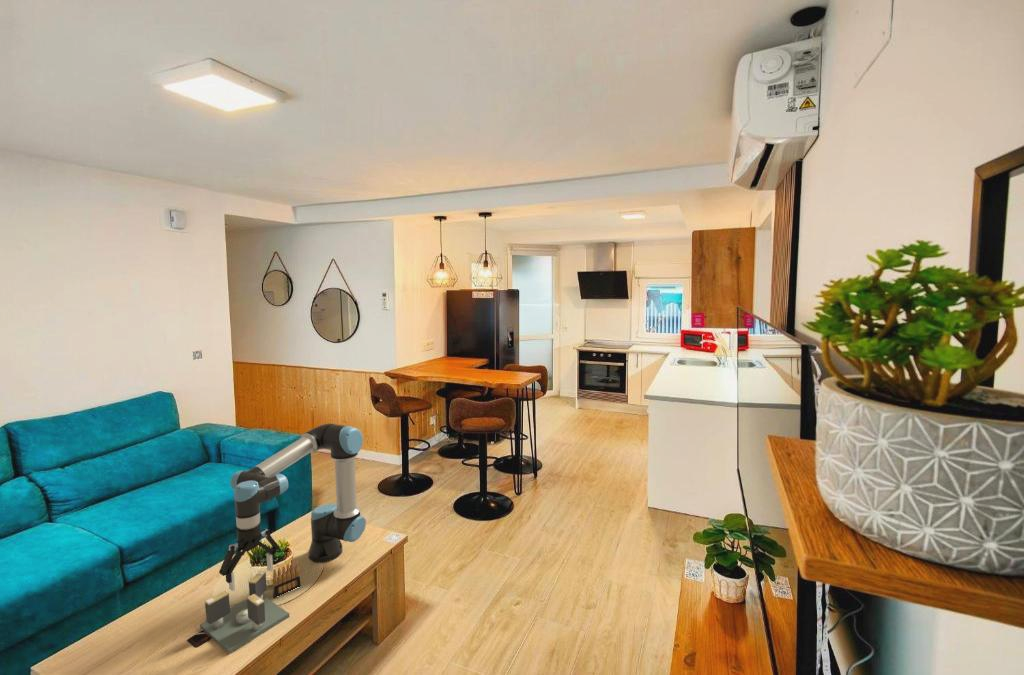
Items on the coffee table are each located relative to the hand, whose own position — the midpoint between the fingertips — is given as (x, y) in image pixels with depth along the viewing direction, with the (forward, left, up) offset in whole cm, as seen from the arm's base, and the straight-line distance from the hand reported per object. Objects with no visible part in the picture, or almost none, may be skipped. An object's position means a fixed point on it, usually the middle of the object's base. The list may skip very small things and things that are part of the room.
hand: (251, 579), depth 169 cm
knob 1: (+7, -12, -19) cm, 24 cm away
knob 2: (0, +1, -19) cm, 19 cm away
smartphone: (+8, -13, -21) cm, 26 cm away
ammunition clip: (-19, -12, -21) cm, 31 cm away
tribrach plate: (0, -8, -21) cm, 22 cm away
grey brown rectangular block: (-8, -12, -19) cm, 24 cm away
